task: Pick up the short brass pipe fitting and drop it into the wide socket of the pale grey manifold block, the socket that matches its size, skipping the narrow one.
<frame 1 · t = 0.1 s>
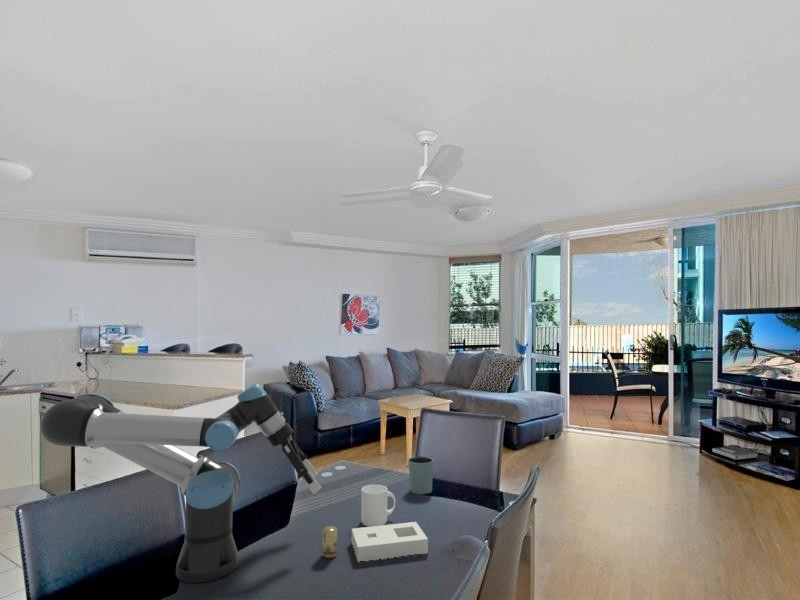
hand: (316, 483, 139), 15 cm above the table, tool tilted 35°, fingers open, 13 cm apart
manifold block: (388, 547, 129), on the table
fitting: (329, 555, 125), on the table
grey-green cup: (420, 491, 177), on the table
mug: (379, 522, 147), on the table
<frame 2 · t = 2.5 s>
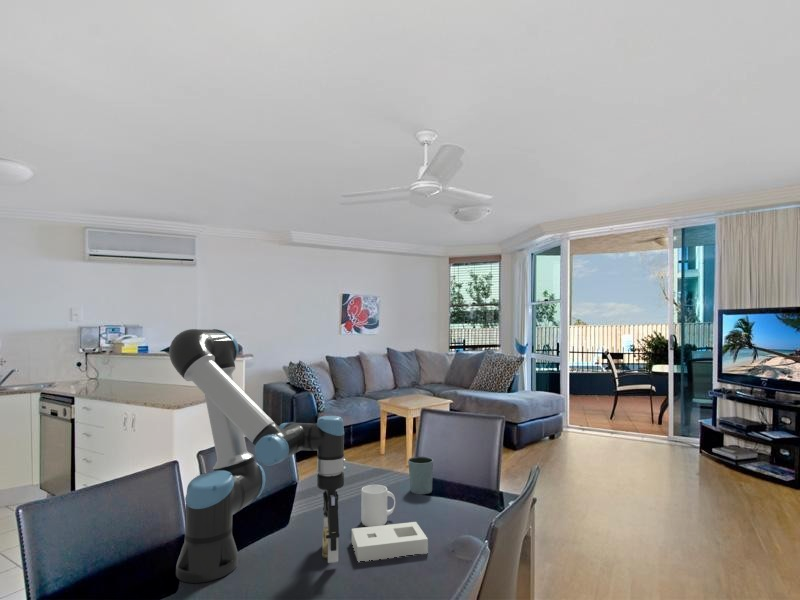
hand: (330, 550, 125), 1 cm above the table, tool pointing down, fingers open, 13 cm apart
nothing on the table moved.
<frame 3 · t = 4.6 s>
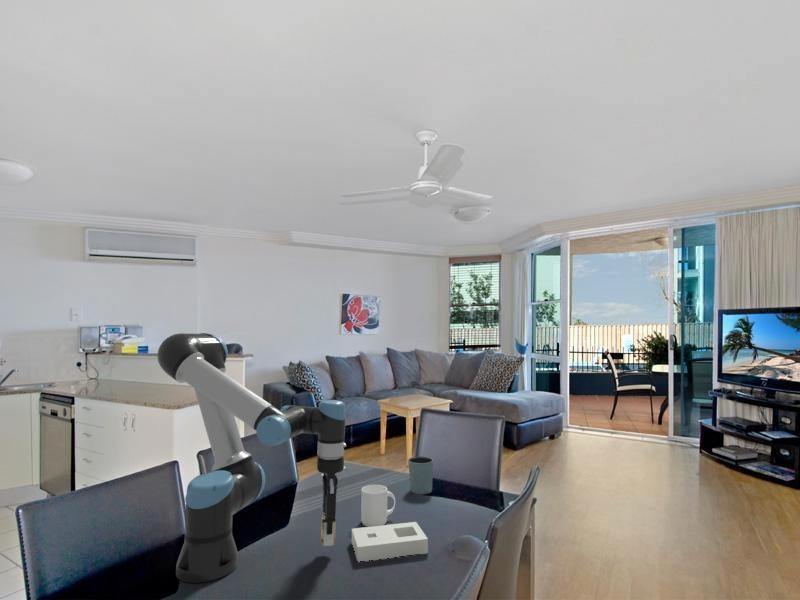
hand: (327, 540, 125), 4 cm above the table, tool pointing down, fingers closed on fitting, 4 cm apart
fitting: (327, 542, 125), point 3 cm above the table, touching gripper
everything else where it was.
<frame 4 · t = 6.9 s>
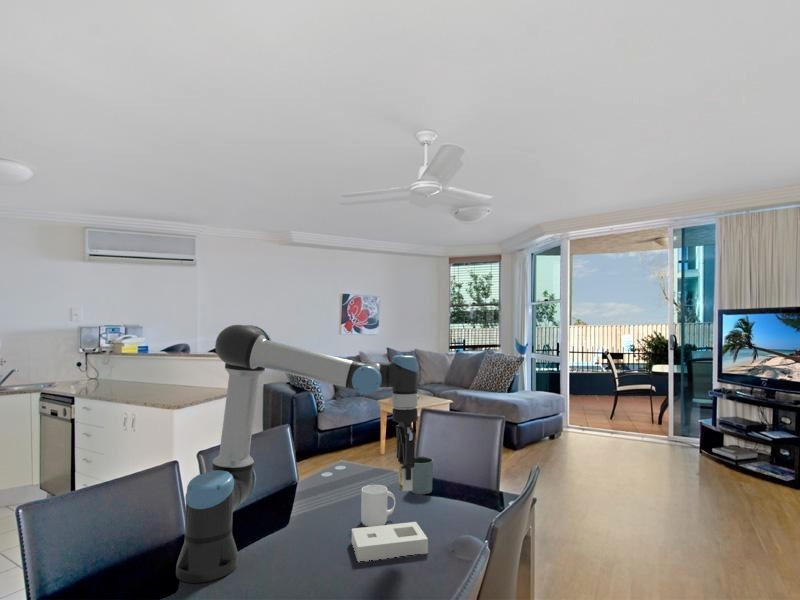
hand: (405, 487, 131), 17 cm above the table, tool pointing down, fingers closed on fitting, 4 cm apart
fitting: (405, 488, 131), point 16 cm above the table, touching gripper
everything else where it was.
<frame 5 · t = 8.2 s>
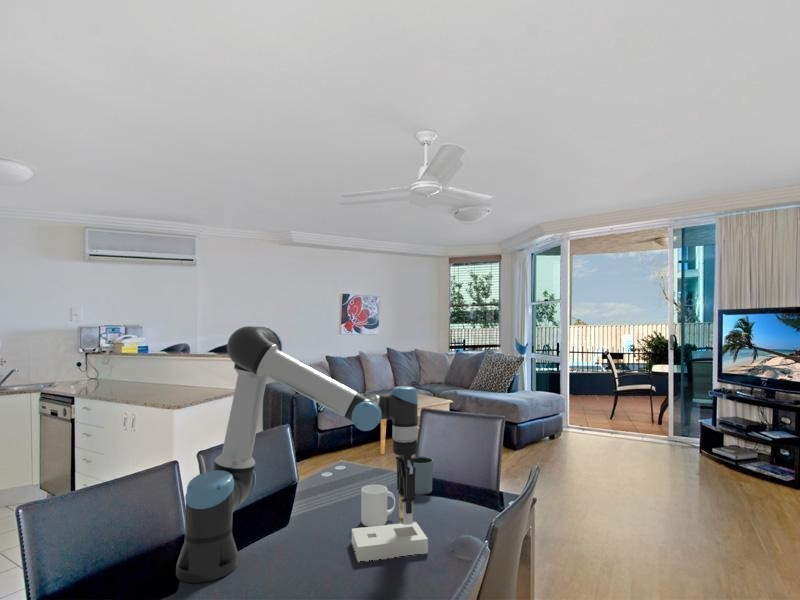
hand: (405, 520, 131), 7 cm above the table, tool pointing down, fingers closed on fitting, 4 cm apart
fitting: (406, 521, 131), point 7 cm above the table, touching gripper
everything else where it was.
when the fingers open (6 cm above the table, at t = 9.1 s): fitting drops 5 cm, resting in manifold block.
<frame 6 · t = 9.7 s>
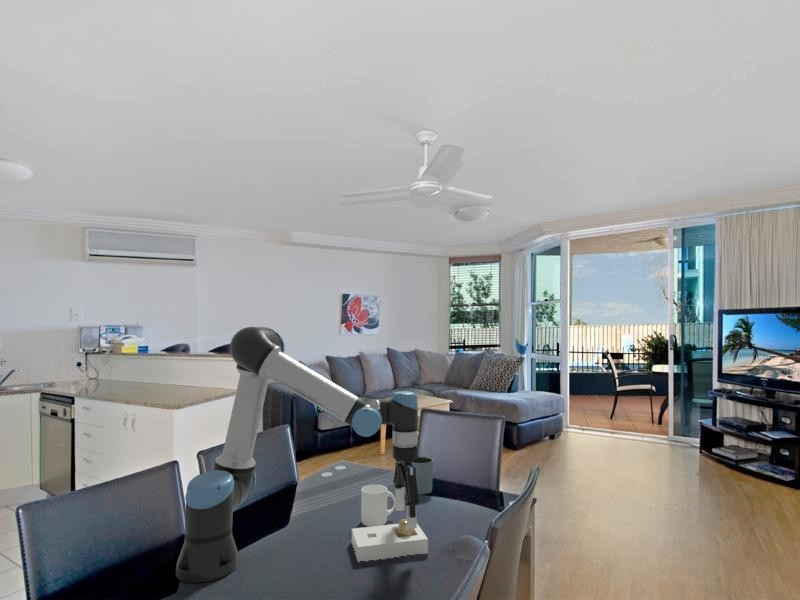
hand: (405, 518, 131), 8 cm above the table, tool pointing down, fingers open, 13 cm apart
fitting: (405, 546, 130), resting in manifold block
everything else where it was.
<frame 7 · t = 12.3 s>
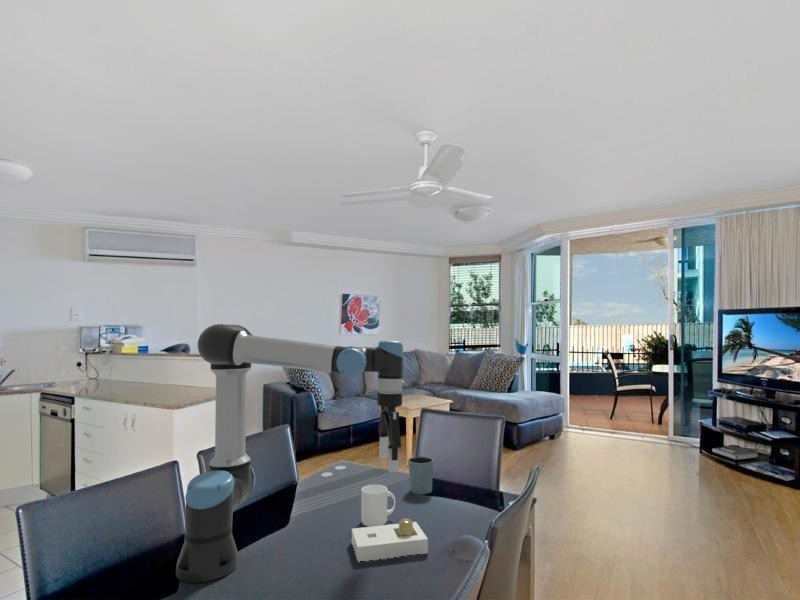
hand: (388, 464, 132), 23 cm above the table, tool pointing down, fingers open, 13 cm apart
nothing on the table moved.
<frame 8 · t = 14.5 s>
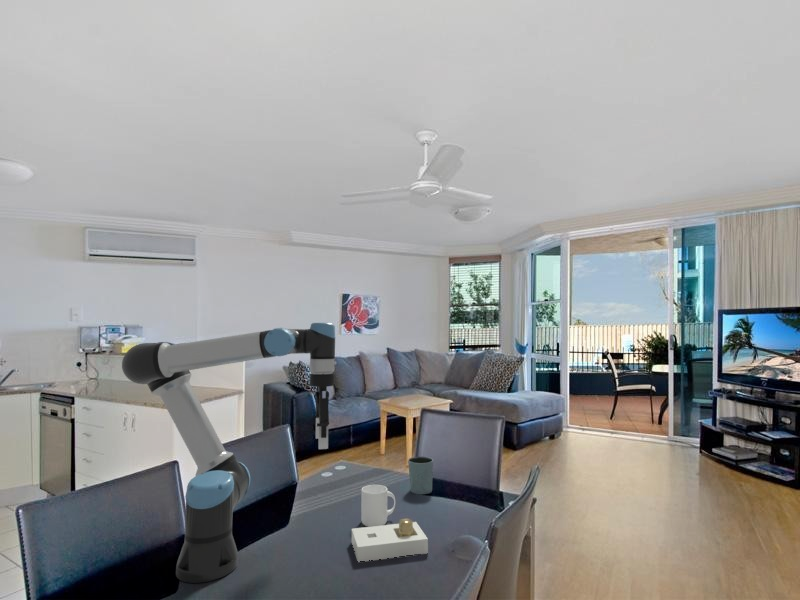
hand: (321, 443, 135), 29 cm above the table, tool pointing down, fingers open, 13 cm apart
nothing on the table moved.
at the end: fitting 0.1 cm from the target spot on the manifold block, point 0.0 cm above the manifold block's base; fitting tilted 0°; the gripper is holding nothing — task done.
